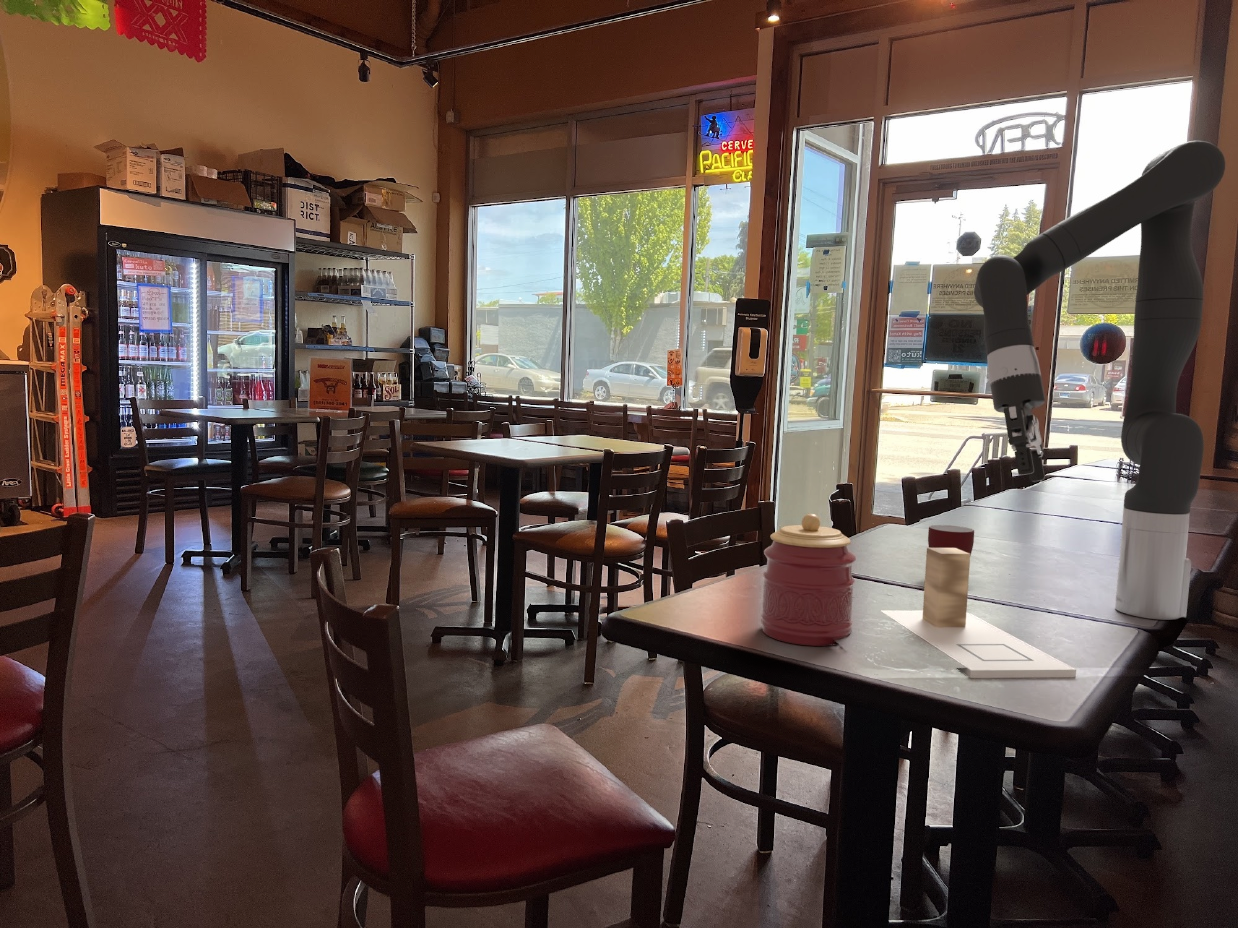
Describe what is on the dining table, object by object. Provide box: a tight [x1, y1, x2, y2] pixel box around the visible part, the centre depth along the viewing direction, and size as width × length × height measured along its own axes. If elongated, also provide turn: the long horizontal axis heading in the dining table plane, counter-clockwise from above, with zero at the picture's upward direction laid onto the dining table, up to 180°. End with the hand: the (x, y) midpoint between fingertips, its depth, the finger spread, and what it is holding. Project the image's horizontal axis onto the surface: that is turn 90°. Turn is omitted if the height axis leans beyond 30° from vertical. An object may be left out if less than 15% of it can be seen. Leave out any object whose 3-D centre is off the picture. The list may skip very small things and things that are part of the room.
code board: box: [879, 609, 1077, 679], centre depth 120 cm, size 14×28×1 cm, turn 6°
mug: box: [927, 524, 975, 557], centre depth 161 cm, size 10×8×10 cm
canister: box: [760, 513, 857, 647], centre depth 122 cm, size 13×13×18 cm
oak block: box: [922, 547, 971, 627], centre depth 127 cm, size 4×4×11 cm
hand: (1032, 477), depth 132 cm, fingers open, 8 cm apart
